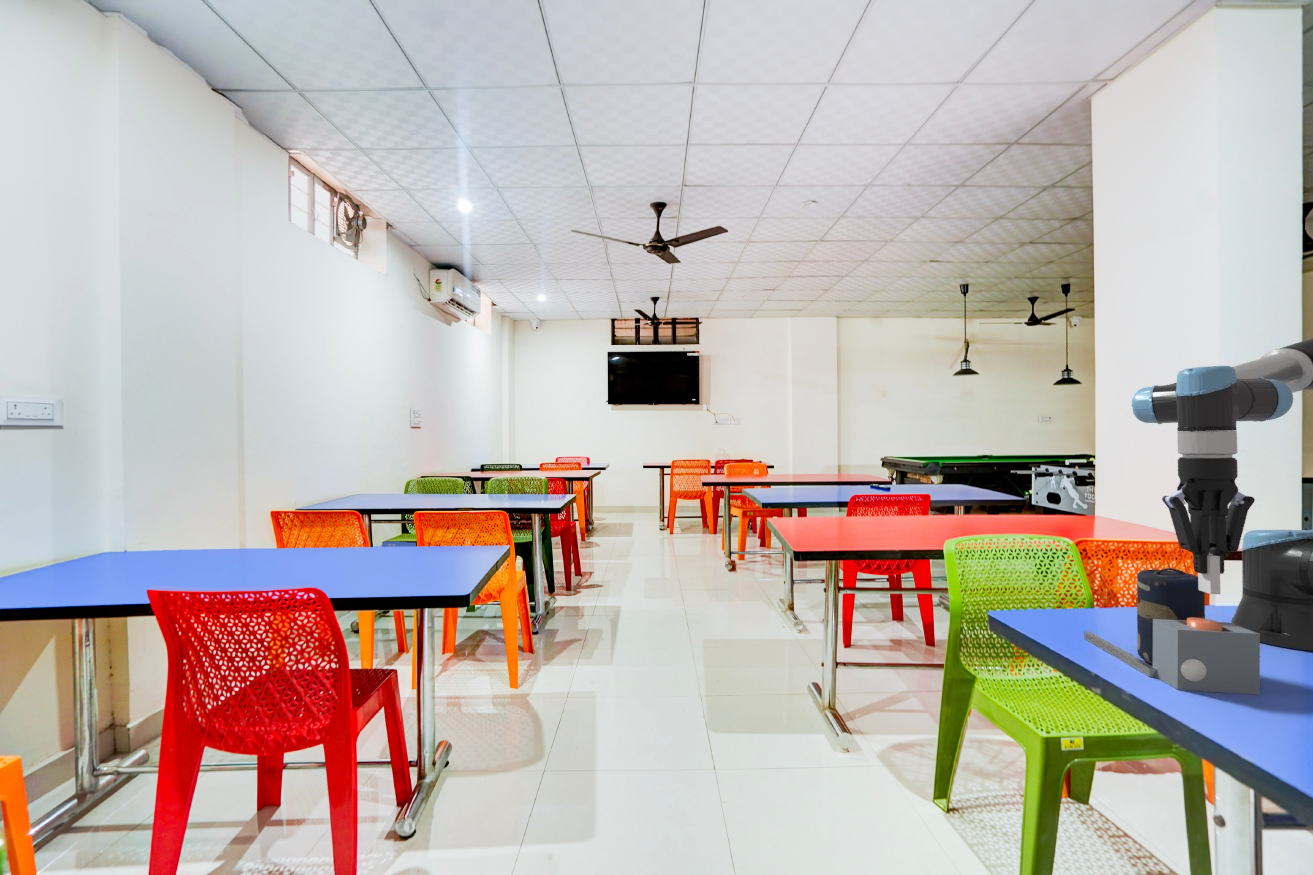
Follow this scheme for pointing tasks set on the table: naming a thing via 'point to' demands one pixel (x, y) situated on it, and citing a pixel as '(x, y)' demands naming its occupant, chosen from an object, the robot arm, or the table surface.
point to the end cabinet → (1207, 657)
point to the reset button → (1204, 624)
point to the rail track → (1121, 654)
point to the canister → (1165, 603)
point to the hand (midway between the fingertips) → (1209, 591)
